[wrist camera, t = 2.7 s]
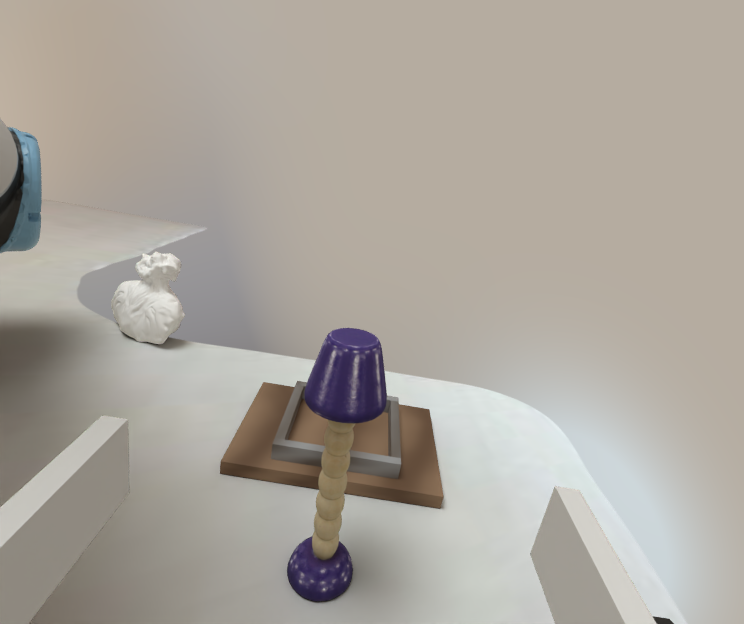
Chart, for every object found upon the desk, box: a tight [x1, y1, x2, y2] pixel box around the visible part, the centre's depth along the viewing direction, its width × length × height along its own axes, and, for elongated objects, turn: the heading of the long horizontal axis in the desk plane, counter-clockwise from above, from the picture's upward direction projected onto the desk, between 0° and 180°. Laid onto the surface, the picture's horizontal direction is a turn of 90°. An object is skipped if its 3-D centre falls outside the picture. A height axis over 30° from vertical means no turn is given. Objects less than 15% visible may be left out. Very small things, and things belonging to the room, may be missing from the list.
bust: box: [111, 252, 185, 344], centre depth 56 cm, size 12×8×11 cm
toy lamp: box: [287, 328, 387, 601], centre depth 27 cm, size 5×5×17 cm
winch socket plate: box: [220, 381, 443, 508], centre depth 42 cm, size 18×13×3 cm
